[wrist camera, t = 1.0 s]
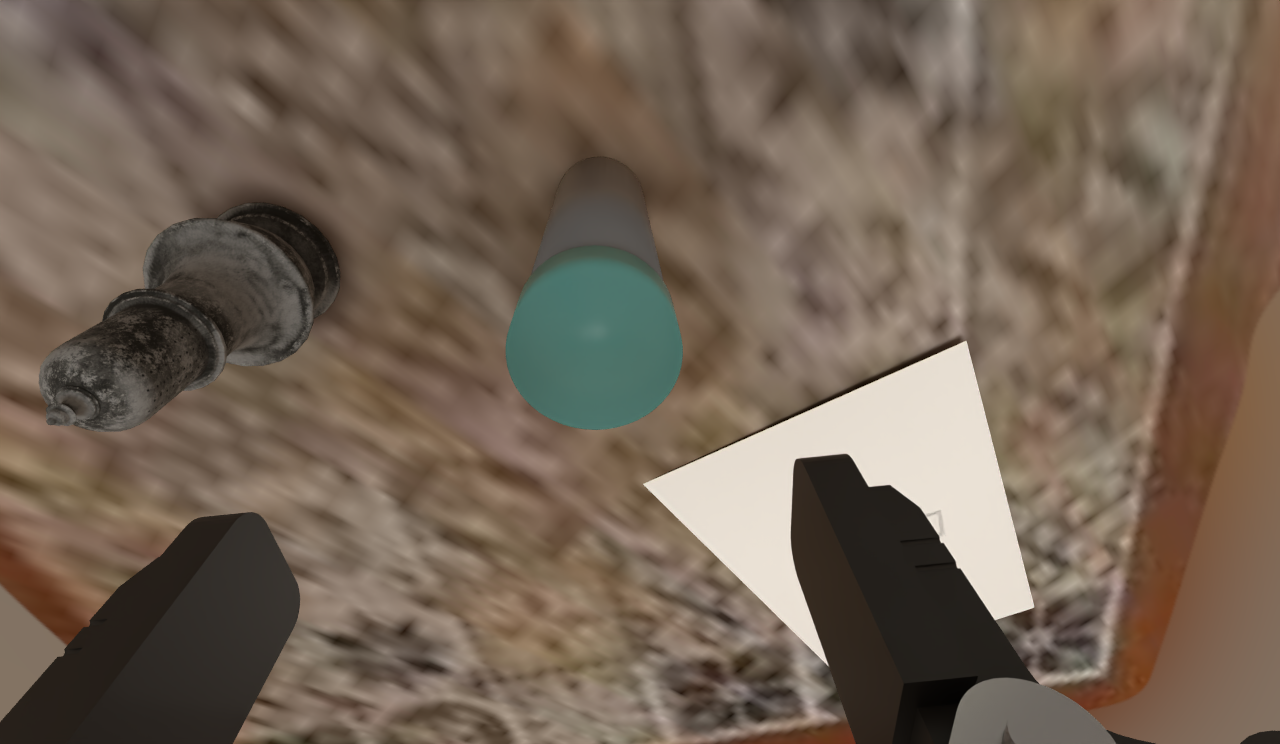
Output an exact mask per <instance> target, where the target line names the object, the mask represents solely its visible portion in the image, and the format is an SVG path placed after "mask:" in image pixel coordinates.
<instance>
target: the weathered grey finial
mask: <svg viewBox="0 0 1280 744" xmlns="http://www.w3.org/2000/svg"><path fill="white" fill-rule="evenodd" d="M143 275H144V284H145V289H136V290H132V291H129V292H126V293H123V294H121V295H120V296H118V297H117V298H115V299H114V300H113V301H111V302H110V304H109V305H108V307H107V308H106V310H105V311H104V315H103V320H102V322H100V323H99V324H97V325H95V326H93V327H92V328H90V329H88V330H86V331H85V332H83V333H81V334H79V335H78V336H76V337H74V338H72V339H71V340H69V341H67V342H65V343H63V344H62V345H60V346H59V347H57V348H56V349H54V350H53V351H52V352H51V353H50V354H49V355H48V356H47V357H46V359H45V360H44V362H43V363H42V365H41V367H40V373H39V386H40V391H41V394H42V396H43V398H44V400H45V402H46V403H47V404H48V407H47V408H46V412H47V415H46V419H47V424H48V425H58V426H60V425H64V426H69V425H75V426H78V427H81V428H84V429H87V430H92V431H98V432H115V431H123V430H127V429H131V428H133V427H135V426H138V425H140V424H141V423H143V422H145V421H146V420H148V419H149V418H151V417H152V416H153V415H154V414H155V413H157V412H158V411H159V410H160V409H161V408H162V407H164V406H165V405H166V404H167V403H168V402H170V401H171V400H172V399H173V398H174V397H176V396H177V395H178V394H179V393H180V392H182V391H191V390H195V389H199V388H202V387H205V386H206V385H208V384H210V383H211V382H213V381H215V380H216V379H217V377H218V376H219V375H220V374H221V372H222V371H223V369H224V366H225V363H231V364H236V365H241V366H264V365H268V364H272V363H275V362H279V361H282V360H284V359H285V358H287V357H289V356H290V355H292V354H294V353H295V352H296V351H297V350H298V349H299V348H300V347H301V346H302V344H303V343H304V342H305V341H306V340H307V338H308V336H309V333H310V330H311V328H312V325H313V319H314V318H316V317H317V316H319V315H321V314H322V313H324V312H325V311H326V310H327V309H328V308H329V307H330V305H331V304H332V303H333V302H334V301H335V298H336V296H337V293H338V290H339V288H340V269H339V265H338V261H337V257H336V255H335V253H334V251H333V249H332V248H331V246H330V244H329V242H328V241H327V239H326V238H325V237H324V236H323V235H322V234H321V232H320V231H319V230H318V229H317V228H316V227H315V226H314V225H312V224H311V223H310V222H309V221H307V220H306V219H305V218H303V217H302V216H301V215H299V214H296V213H294V212H292V211H290V210H288V209H286V208H284V207H280V206H276V205H272V204H268V203H246V204H243V205H239V206H236V207H233V208H231V209H229V210H228V211H226V212H225V213H223V214H222V215H220V216H219V217H218V218H193V219H190V220H186V221H183V222H179V223H176V224H173V225H171V226H170V227H169V228H167V229H166V230H164V231H163V232H161V233H160V234H158V235H157V236H156V238H155V239H154V241H153V242H152V244H151V245H150V247H149V248H148V250H147V252H146V257H145V261H144V266H143Z"/></svg>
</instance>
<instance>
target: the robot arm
mask: <svg viewBox="0 0 1280 744" xmlns="http://www.w3.org/2000/svg"><path fill="white" fill-rule="evenodd" d="M791 549H792V556H793V562H794V566H795V570H796V574H797V577H798V580H799V583H800V586H801V589H802V592H803V594H804V597H805V600H806V603H807V606H808V609H809V611H810V614H811V617H812V620H813V623H814V626H815V629H816V631H817V634H818V637H819V640H820V643H821V646H822V648H823V651H824V654H825V657H826V660H827V663H828V665H829V668H830V671H831V674H832V677H833V680H834V683H835V685H836V688H837V691H838V694H839V697H840V700H841V702H842V705H843V708H844V711H845V714H846V717H847V719H848V722H849V725H850V728H851V731H852V734H853V737H854V739H855V742H856V744H1155V743H1150V742H1145V741H1141V740H1136V739H1132V738H1129V737H1125V736H1121V735H1118V734H1116V733H1113V732H1111V731H1108V730H1106V729H1105V728H1104V727H1103V726H1102V725H1101V724H1100V723H1099V722H1098V721H1097V720H1096V719H1095V718H1094V717H1093V716H1092V715H1091V714H1089V712H1087V711H1086V710H1085V709H1083V708H1082V707H1081V706H1079V705H1078V704H1077V703H1075V702H1074V701H1072V700H1071V699H1069V698H1067V697H1066V696H1064V695H1063V694H1061V693H1059V692H1057V691H1055V690H1052V689H1050V688H1048V687H1046V686H1043V685H1040V684H1039V683H1038V682H1037V681H1036V680H1035V679H1034V677H1033V676H1032V675H1031V673H1030V672H1029V671H1028V669H1027V668H1026V666H1025V665H1024V663H1023V662H1022V660H1021V659H1020V657H1019V656H1018V654H1017V653H1016V651H1015V650H1014V648H1013V647H1012V645H1011V644H1010V642H1009V641H1008V639H1007V638H1006V636H1005V635H1004V633H1003V632H1002V630H1001V629H1000V627H999V626H998V624H997V623H996V621H995V620H994V618H993V617H992V615H991V614H990V612H989V611H988V609H987V608H986V606H985V605H984V603H983V602H982V600H981V599H980V597H979V596H978V594H977V593H976V591H975V589H974V588H973V586H972V585H971V583H970V582H969V580H968V579H967V577H966V576H965V574H964V573H963V571H962V570H961V568H957V566H956V561H955V559H954V558H953V556H952V555H951V553H950V552H949V550H948V549H947V547H946V546H945V544H944V543H941V542H940V537H939V535H938V534H937V532H936V531H935V529H934V528H933V526H932V525H931V523H930V522H929V520H928V519H927V517H926V516H925V514H924V513H923V511H922V510H921V508H920V507H919V506H917V505H916V504H915V503H913V502H912V501H911V500H909V499H908V498H907V497H905V496H904V495H903V494H901V493H900V492H899V491H897V490H896V489H895V488H893V487H892V486H891V485H883V486H873V487H868V485H867V483H866V481H865V480H864V478H863V476H862V474H861V473H860V471H859V469H858V468H857V466H856V464H855V462H854V461H853V459H852V458H851V457H850V456H849V455H848V454H837V455H827V456H817V457H807V458H798V459H796V460H795V463H794V468H793V488H792V511H791ZM299 608H300V593H299V588H298V584H297V582H296V580H295V578H294V576H293V574H292V572H291V570H290V568H289V566H288V564H287V562H286V560H285V558H284V556H283V554H282V552H281V550H280V549H279V547H278V545H277V543H276V541H275V539H274V537H273V535H272V533H271V531H270V529H269V527H268V525H267V523H266V522H265V520H264V519H263V518H262V517H261V516H260V515H259V514H257V513H253V512H248V513H238V514H228V515H218V516H209V517H201V518H197V519H195V520H193V521H192V522H190V523H189V524H188V525H187V526H186V527H185V528H184V529H183V531H182V532H181V533H180V534H179V535H178V536H177V538H176V539H175V540H174V541H173V542H172V544H171V545H170V546H169V547H168V548H167V549H166V551H165V552H164V553H163V554H162V555H161V556H160V557H158V558H157V559H155V560H154V561H153V562H151V563H150V564H149V565H147V566H146V567H145V568H143V569H142V570H141V571H139V572H138V573H137V574H136V575H134V576H133V577H132V578H130V579H129V580H128V581H126V582H125V583H124V584H122V585H121V586H120V587H119V588H118V589H117V590H116V591H115V592H114V593H113V595H112V596H111V597H110V598H109V599H108V600H107V601H106V603H105V604H104V605H103V606H102V607H101V608H100V609H99V610H98V612H97V613H96V614H95V615H94V616H93V617H92V618H91V620H90V626H89V627H84V628H83V629H82V630H81V631H80V632H79V633H78V634H77V635H76V637H75V638H74V639H73V640H72V641H71V642H70V643H69V645H68V646H67V647H66V648H65V654H64V656H62V657H57V658H56V659H55V660H54V662H53V663H52V664H51V665H50V666H49V667H48V668H47V670H46V671H45V672H44V673H43V674H42V675H41V677H40V678H39V679H38V680H37V681H36V682H35V683H34V684H33V685H32V687H31V688H30V689H29V690H28V691H27V692H26V693H25V695H24V696H23V697H22V698H21V699H20V700H19V701H18V703H17V704H16V705H15V706H14V707H13V708H12V709H11V711H10V712H9V713H8V714H7V715H6V716H5V717H4V718H3V720H2V721H1V722H0V744H233V742H234V740H235V738H236V736H237V734H238V733H239V731H240V729H241V727H242V725H243V723H244V721H245V719H246V717H247V715H248V714H249V712H250V710H251V708H252V706H253V704H254V702H255V700H256V698H257V696H258V695H259V693H260V691H261V689H262V687H263V685H264V683H265V681H266V679H267V677H268V676H269V674H270V672H271V670H272V668H273V666H274V664H275V662H276V660H277V658H278V657H279V655H280V653H281V651H282V649H283V647H284V645H285V643H286V641H287V639H288V638H289V636H290V634H291V632H292V630H293V628H294V626H295V624H296V621H297V618H298V614H299ZM1240 744H1280V731H1266V732H1259V733H1257V734H1254V735H1251V736H1249V737H1248V738H1246V739H1245V740H1244V741H1243V742H1241V743H1240Z"/></svg>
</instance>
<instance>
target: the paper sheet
mask: <svg viewBox="0 0 1280 744" xmlns="http://www.w3.org/2000/svg"><path fill="white" fill-rule="evenodd" d="M837 454H848V455H849V456H850V457H851V458H852V459H853V461H854V462H855V464H856V466H857V468H858V469H859V471H860V473H861V474H862V476H863V478H864V480H865V481H866V483H867V485H868V487H873V486H883V485H891V486H892V487H893V488H895V489H896V490H897V491H899V492H900V493H901V494H903V495H904V496H905V497H907V498H908V499H909V500H911V501H912V502H913V503H915V504H916V505H917V506H919V507H920V508H921V510H922V511H923V513H924V514H925V516H926V517H927V519H928V520H929V522H930V523H931V525H932V526H933V528H934V529H935V531H936V532H937V534H938V535H939V537H940V542H941V543H944V544H945V546H946V547H947V549H948V550H949V552H950V553H951V555H952V556H953V558H954V559H955V561H956V566H957V568H961V570H962V571H963V573H964V574H965V576H966V577H967V579H968V580H969V582H970V583H971V585H972V586H973V588H974V589H975V591H976V593H977V594H978V596H979V597H980V599H981V600H982V602H983V603H984V605H985V606H986V608H987V609H988V611H989V612H990V614H991V615H992V617H993V618H994V620H997V619H1000V618H1003V617H1006V616H1009V615H1012V614H1016V613H1019V612H1022V611H1025V610H1028V609H1031V608H1034V604H1033V600H1032V596H1031V592H1030V588H1029V584H1028V580H1027V576H1026V572H1025V568H1024V564H1023V561H1022V557H1021V553H1020V549H1019V545H1018V541H1017V537H1016V533H1015V529H1014V525H1013V521H1012V518H1011V514H1010V510H1009V506H1008V502H1007V498H1006V494H1005V490H1004V486H1003V482H1002V478H1001V474H1000V471H999V467H998V463H997V459H996V455H995V451H994V447H993V443H992V439H991V435H990V431H989V427H988V424H987V420H986V416H985V412H984V408H983V404H982V400H981V396H980V392H979V388H978V384H977V381H976V377H975V373H974V369H973V365H972V361H971V357H970V353H969V349H968V345H967V341H965V342H962V343H960V344H958V345H956V346H953V347H951V348H949V349H947V350H944V351H942V352H940V353H938V354H935V355H933V356H931V357H929V358H926V359H924V360H922V361H920V362H917V363H915V364H913V365H910V366H908V367H906V368H904V369H901V370H899V371H897V372H895V373H892V374H890V375H888V376H886V377H883V378H881V379H879V380H877V381H874V382H872V383H870V384H868V385H865V386H863V387H861V388H859V389H856V390H854V391H852V392H850V393H847V394H845V395H843V396H841V397H838V398H836V399H834V400H832V401H829V402H827V403H825V404H823V405H820V406H818V407H816V408H814V409H811V410H809V411H807V412H804V413H802V414H800V415H798V416H795V417H793V418H791V419H789V420H786V421H784V422H782V423H780V424H777V425H775V426H773V427H771V428H768V429H766V430H764V431H762V432H759V433H757V434H755V435H753V436H750V437H748V438H746V439H744V440H741V441H739V442H737V443H735V444H732V445H730V446H728V447H726V448H723V449H721V450H719V451H717V452H714V453H712V454H710V455H707V456H705V457H703V458H701V459H698V460H696V461H694V462H692V463H689V464H687V465H685V466H683V467H680V468H678V469H676V470H674V471H671V472H669V473H667V474H665V475H662V476H660V477H658V478H656V479H653V480H651V481H649V482H647V483H644V484H643V485H644V486H645V487H646V488H647V489H648V490H649V491H650V492H651V493H652V494H654V495H655V496H656V497H657V498H658V499H659V500H660V501H661V502H662V503H663V504H664V505H665V506H666V507H667V508H668V509H669V510H670V511H671V512H672V513H673V514H674V515H675V516H676V517H677V518H678V519H679V520H680V521H681V522H682V523H683V524H684V525H685V526H686V527H687V528H688V529H689V530H690V531H691V532H692V533H693V534H694V535H695V536H696V537H697V538H698V539H699V540H700V541H701V542H702V543H703V544H705V545H706V546H707V547H708V548H709V549H710V550H711V551H712V552H713V553H714V554H715V555H716V556H717V557H718V558H719V559H720V560H721V561H722V562H723V563H724V564H725V565H726V566H727V567H728V568H729V569H730V570H731V571H732V572H733V573H734V574H735V575H736V576H737V577H738V578H739V579H740V580H741V581H742V582H743V583H744V584H745V585H746V586H747V587H748V588H749V589H750V590H751V591H752V592H753V593H755V594H756V595H757V596H758V597H759V598H760V599H761V600H762V601H763V602H764V603H765V604H766V605H767V606H768V607H769V608H770V609H771V610H772V611H773V612H774V613H775V614H776V615H777V616H778V617H779V618H780V619H781V620H782V621H783V622H784V623H785V624H786V625H787V626H788V627H789V628H790V629H791V630H792V631H793V632H794V633H795V634H796V635H797V636H798V637H799V638H800V639H801V640H802V641H803V642H804V643H805V644H807V645H808V646H809V647H810V648H811V649H812V650H813V651H814V652H815V653H816V654H817V655H818V656H819V657H820V658H821V659H822V660H823V661H824V662H825V663H826V664H827V665H828V663H827V660H826V657H825V654H824V651H823V648H822V646H821V643H820V640H819V637H818V634H817V631H816V629H815V626H814V623H813V620H812V617H811V614H810V611H809V609H808V606H807V603H806V600H805V597H804V594H803V592H802V589H801V586H800V583H799V580H798V577H797V574H796V570H795V566H794V562H793V556H792V549H791V511H792V488H793V468H794V463H795V460H796V459H798V458H807V457H817V456H827V455H837ZM828 666H829V665H828Z"/></svg>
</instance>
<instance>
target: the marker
mask: <svg viewBox="0 0 1280 744" xmlns="http://www.w3.org/2000/svg"><path fill="white" fill-rule="evenodd" d="M682 357H683V346H682V340H681V334H680V330H679V326H678V322H677V318H676V314H675V310H674V306H673V302H672V299H671V296H670V293H669V291H668V289H667V287H666V285H665V283H664V282H663V277H662V273H661V269H660V264H659V260H658V256H657V251H656V247H655V243H654V239H653V234H652V230H651V226H650V221H649V217H648V213H647V208H646V204H645V200H644V195H643V191H642V188H641V185H640V183H639V181H638V179H637V177H636V176H635V175H634V173H633V172H632V171H631V170H630V169H629V168H628V167H627V166H625V165H624V164H622V163H620V162H619V161H616V160H614V159H611V158H606V157H593V158H588V159H585V160H582V161H580V162H578V163H577V164H575V165H574V166H572V167H571V168H570V169H569V170H568V171H567V172H566V174H565V175H564V176H563V178H562V180H561V182H560V184H559V187H558V190H557V193H556V197H555V200H554V203H553V206H552V209H551V213H550V216H549V219H548V222H547V225H546V229H545V232H544V235H543V238H542V241H541V245H540V248H539V251H538V254H537V257H536V261H535V264H534V267H533V270H532V273H531V276H530V277H529V279H528V280H527V282H526V283H525V285H524V287H523V290H522V292H521V294H520V297H519V300H518V303H517V306H516V309H515V312H514V315H513V318H512V321H511V324H510V328H509V331H508V335H507V340H506V360H507V366H508V370H509V373H510V376H511V378H512V380H513V382H514V384H515V386H516V388H517V389H518V391H519V392H520V394H521V395H522V396H523V398H524V399H525V400H526V401H527V402H528V403H529V404H530V405H531V406H532V407H533V408H535V409H536V410H537V411H538V412H540V413H541V414H543V415H544V416H546V417H548V418H550V419H552V420H553V421H556V422H558V423H561V424H563V425H567V426H571V427H574V428H581V429H591V430H599V429H610V428H616V427H620V426H623V425H627V424H629V423H632V422H634V421H637V420H639V419H640V418H642V417H644V416H646V415H647V414H649V413H650V412H651V411H653V410H654V409H655V408H656V407H657V406H659V405H660V404H661V403H662V402H663V401H664V399H665V398H666V397H667V396H668V395H669V393H670V391H671V390H672V388H673V387H674V385H675V383H676V381H677V378H678V376H679V373H680V369H681V365H682Z"/></svg>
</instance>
